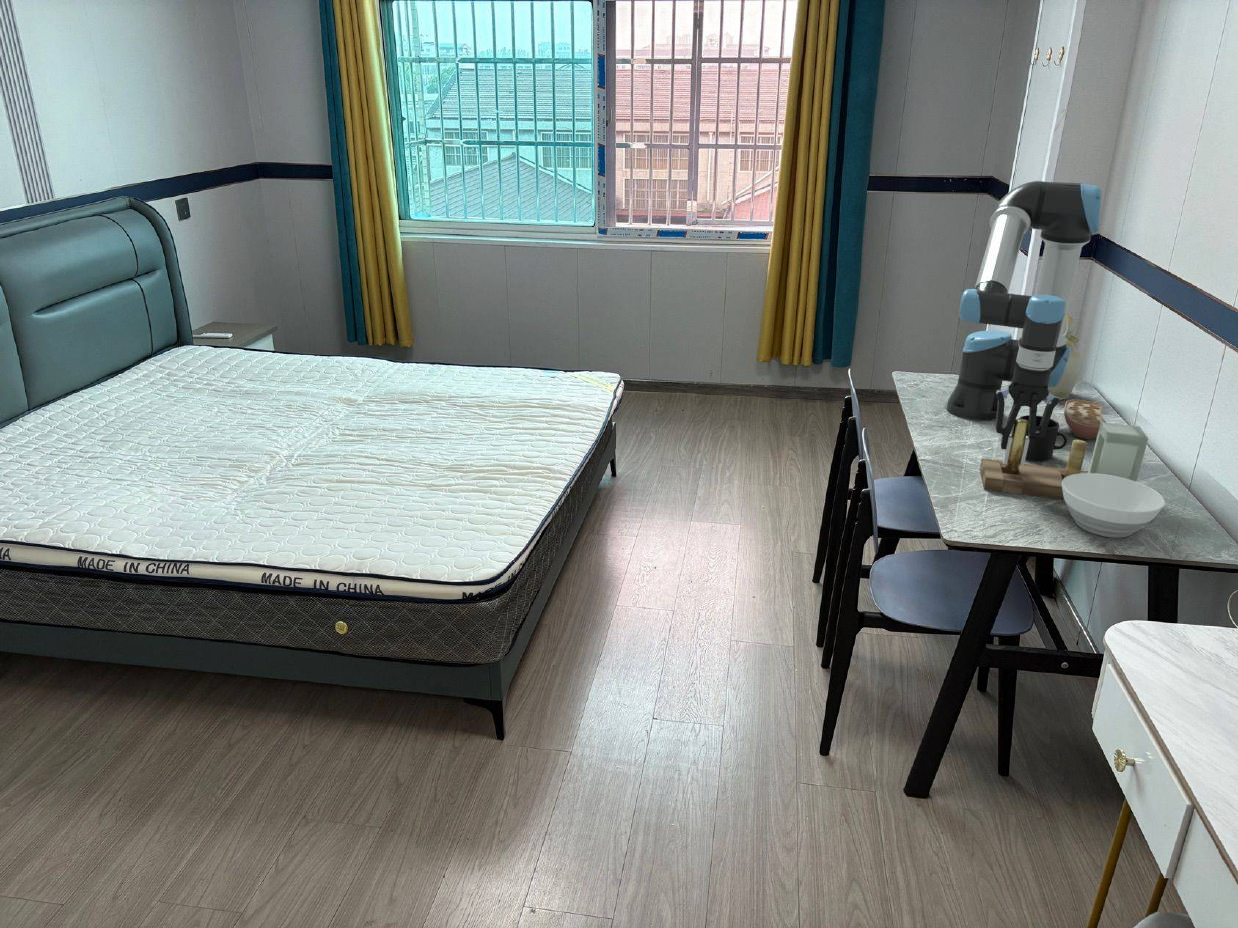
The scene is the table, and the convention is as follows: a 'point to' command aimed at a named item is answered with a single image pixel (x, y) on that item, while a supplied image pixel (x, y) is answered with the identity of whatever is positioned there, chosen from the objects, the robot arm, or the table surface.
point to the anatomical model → (1083, 418)
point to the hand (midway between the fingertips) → (1012, 462)
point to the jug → (1068, 365)
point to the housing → (1118, 451)
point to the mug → (1045, 441)
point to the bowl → (1110, 503)
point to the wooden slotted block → (1032, 475)
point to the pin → (1017, 444)
